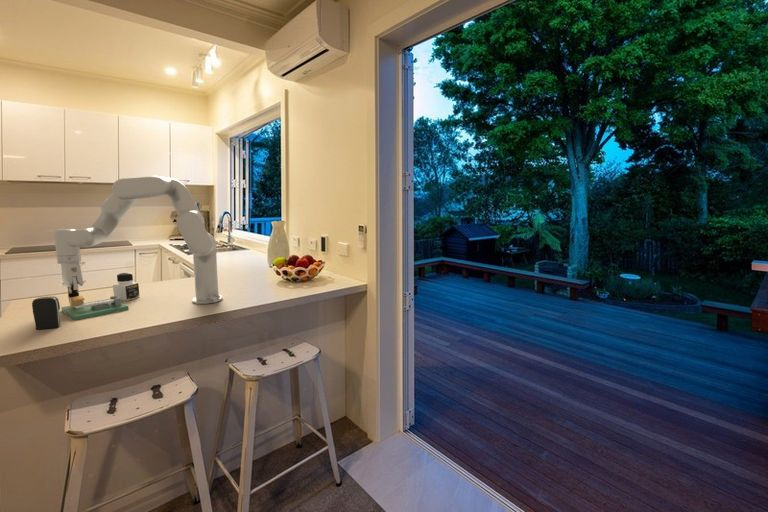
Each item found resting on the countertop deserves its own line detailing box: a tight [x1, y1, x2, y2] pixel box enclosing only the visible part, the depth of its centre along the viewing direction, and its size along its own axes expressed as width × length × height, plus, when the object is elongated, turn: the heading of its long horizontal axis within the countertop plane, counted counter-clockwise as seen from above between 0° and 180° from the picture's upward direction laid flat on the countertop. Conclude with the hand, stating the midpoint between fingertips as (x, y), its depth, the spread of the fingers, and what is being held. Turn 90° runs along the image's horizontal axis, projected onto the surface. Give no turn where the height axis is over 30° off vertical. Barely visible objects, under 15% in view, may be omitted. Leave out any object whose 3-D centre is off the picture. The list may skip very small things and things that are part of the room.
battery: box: [31, 296, 61, 330], centre depth 135 cm, size 7×4×11 cm, turn 112°
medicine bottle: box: [112, 272, 140, 302], centre depth 173 cm, size 7×7×12 cm
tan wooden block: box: [68, 295, 85, 308], centre depth 153 cm, size 6×4×4 cm, turn 53°
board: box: [60, 295, 129, 321], centre depth 156 cm, size 19×18×5 cm
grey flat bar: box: [75, 298, 116, 308], centre depth 154 cm, size 3×14×1 cm, turn 143°
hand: (74, 301), depth 156 cm, fingers closed
